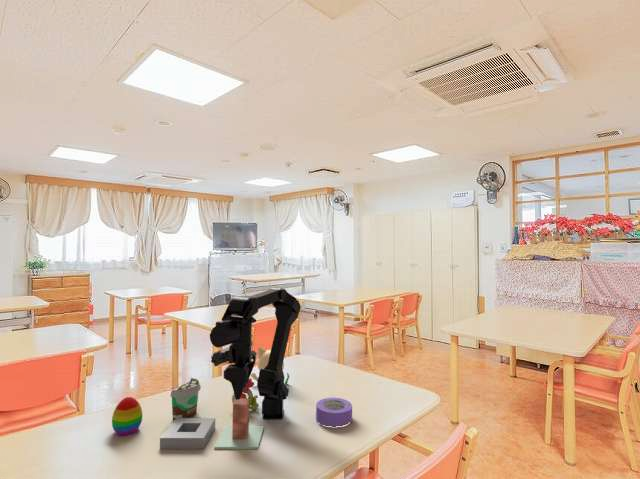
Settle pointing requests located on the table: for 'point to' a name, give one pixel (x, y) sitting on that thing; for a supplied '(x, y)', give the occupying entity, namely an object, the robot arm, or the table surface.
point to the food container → (185, 399)
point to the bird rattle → (250, 395)
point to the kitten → (264, 362)
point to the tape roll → (333, 412)
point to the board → (249, 443)
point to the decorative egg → (127, 416)
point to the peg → (240, 419)
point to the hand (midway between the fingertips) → (240, 393)
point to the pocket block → (188, 433)
